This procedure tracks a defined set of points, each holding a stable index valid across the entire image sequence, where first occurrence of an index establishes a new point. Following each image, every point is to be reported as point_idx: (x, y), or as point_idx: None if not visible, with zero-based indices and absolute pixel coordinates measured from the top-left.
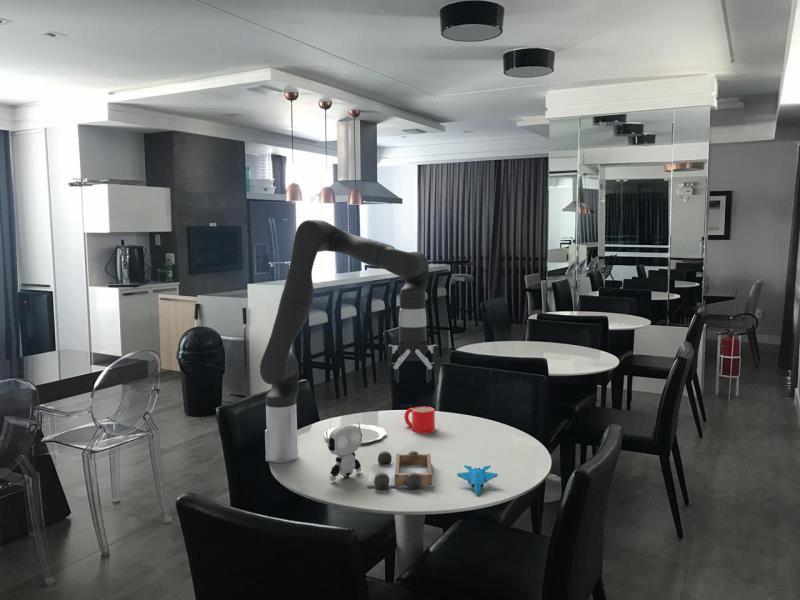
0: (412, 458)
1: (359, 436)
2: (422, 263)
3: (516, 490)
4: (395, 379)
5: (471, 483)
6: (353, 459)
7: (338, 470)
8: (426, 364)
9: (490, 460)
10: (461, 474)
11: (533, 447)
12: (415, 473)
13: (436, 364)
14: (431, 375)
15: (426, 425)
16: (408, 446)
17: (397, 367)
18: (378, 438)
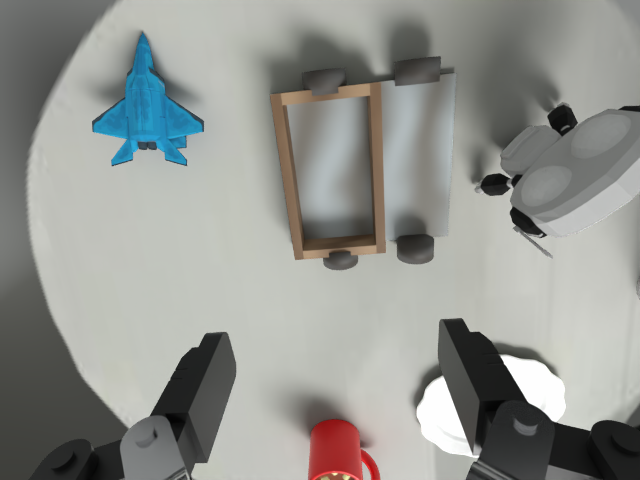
0: (341, 243)
1: (532, 189)
2: None
3: (56, 94)
4: (473, 337)
5: (161, 83)
6: (516, 159)
7: (554, 118)
8: (168, 464)
9: (163, 287)
10: (191, 125)
11: (88, 363)
12: (318, 89)
13: (56, 464)
14: (174, 378)
15: (326, 439)
16: (361, 357)
17: (502, 419)
18: (434, 384)
